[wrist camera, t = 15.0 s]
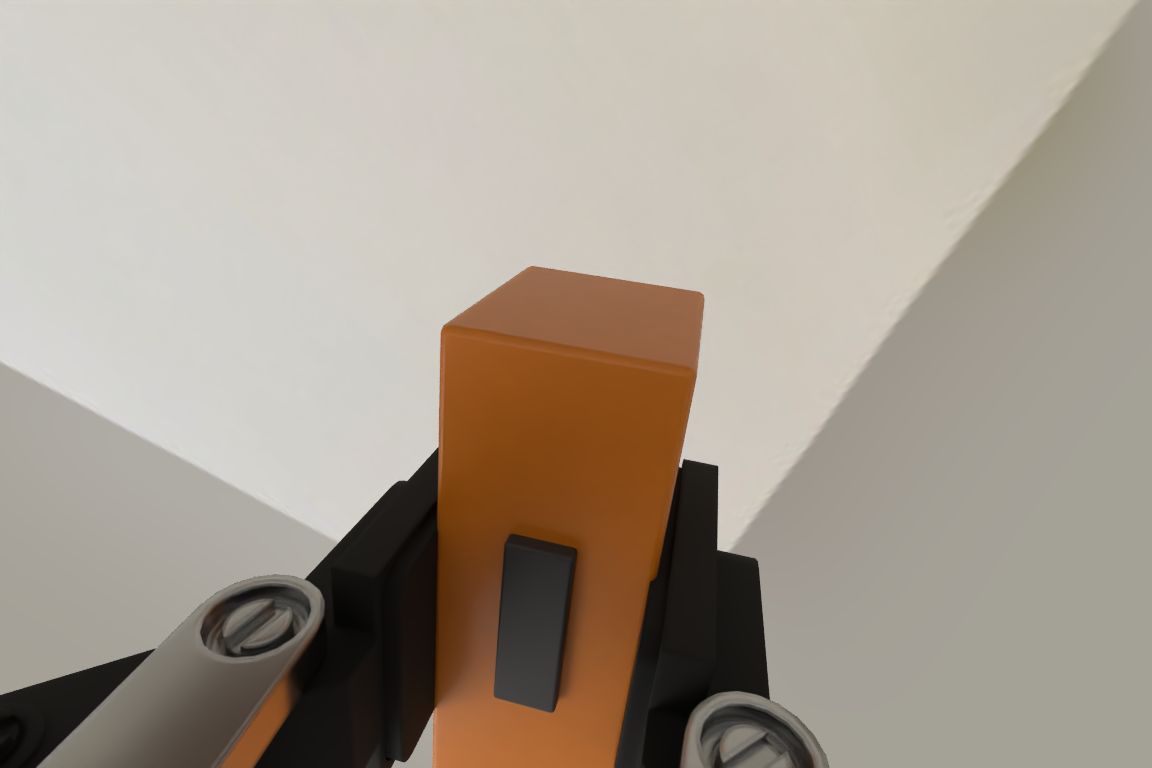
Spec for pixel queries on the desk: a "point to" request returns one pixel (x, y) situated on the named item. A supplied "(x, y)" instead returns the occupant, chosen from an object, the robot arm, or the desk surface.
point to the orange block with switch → (553, 510)
